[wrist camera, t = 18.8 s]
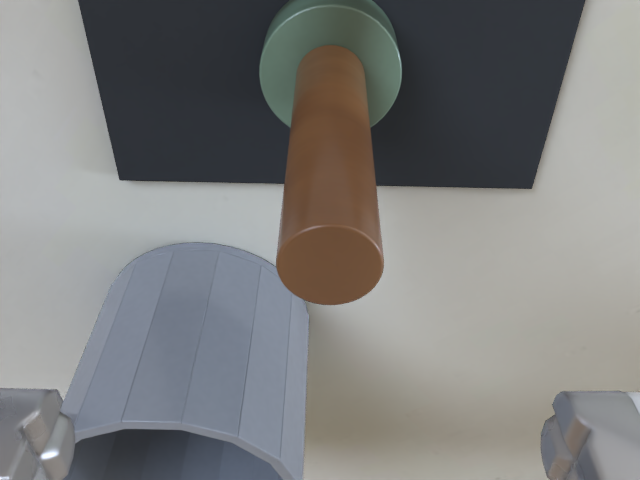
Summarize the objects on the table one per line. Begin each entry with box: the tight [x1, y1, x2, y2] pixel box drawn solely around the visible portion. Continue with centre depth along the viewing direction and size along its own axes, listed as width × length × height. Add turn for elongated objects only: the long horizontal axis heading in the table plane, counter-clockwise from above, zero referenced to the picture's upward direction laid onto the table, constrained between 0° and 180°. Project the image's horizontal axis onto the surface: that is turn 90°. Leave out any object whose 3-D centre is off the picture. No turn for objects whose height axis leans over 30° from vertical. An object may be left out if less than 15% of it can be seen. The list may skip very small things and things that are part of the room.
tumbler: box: [60, 243, 309, 480], centre depth 29 cm, size 11×11×10 cm
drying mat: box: [78, 0, 585, 189], centre depth 23 cm, size 18×12×1 cm, turn 89°
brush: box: [259, 0, 402, 305], centre depth 18 cm, size 5×5×12 cm
